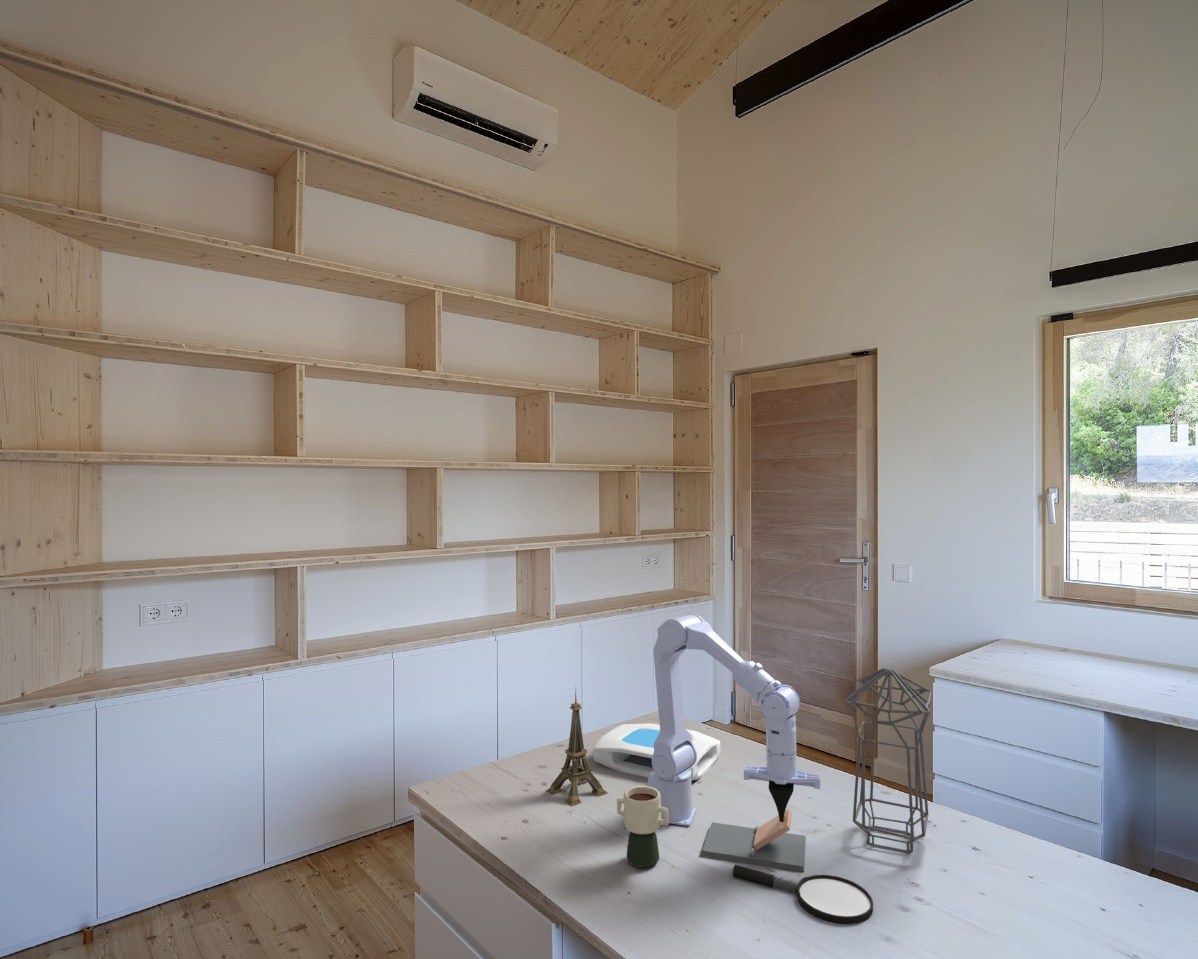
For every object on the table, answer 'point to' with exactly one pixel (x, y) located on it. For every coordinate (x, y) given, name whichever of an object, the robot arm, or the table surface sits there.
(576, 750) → the eiffel tower
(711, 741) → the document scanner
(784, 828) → the tile
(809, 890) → the magnifying glass
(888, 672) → the geometric lantern
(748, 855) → the mat
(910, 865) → the table surface
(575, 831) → the table surface
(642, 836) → the character mug
